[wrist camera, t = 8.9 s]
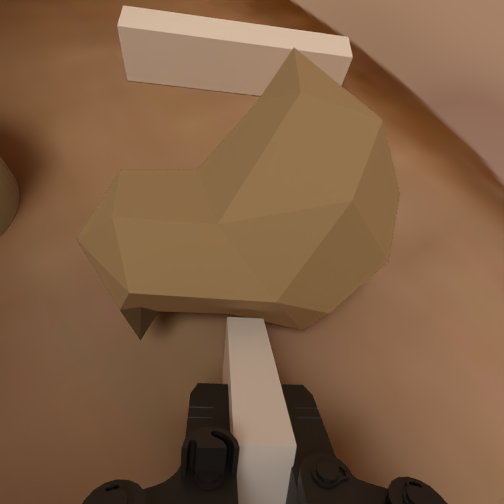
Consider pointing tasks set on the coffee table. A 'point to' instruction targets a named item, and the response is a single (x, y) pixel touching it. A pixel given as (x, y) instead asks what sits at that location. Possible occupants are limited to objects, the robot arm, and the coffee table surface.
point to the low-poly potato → (256, 213)
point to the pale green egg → (7, 196)
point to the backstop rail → (219, 51)
